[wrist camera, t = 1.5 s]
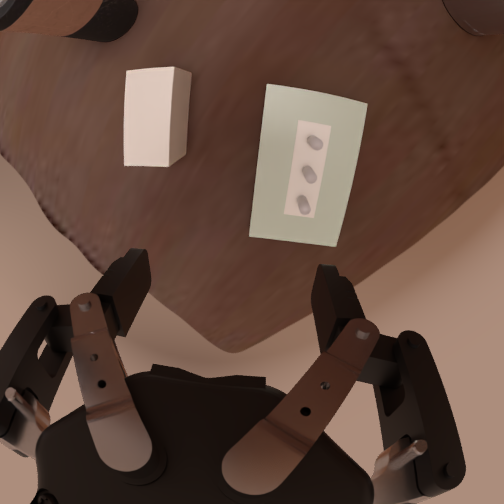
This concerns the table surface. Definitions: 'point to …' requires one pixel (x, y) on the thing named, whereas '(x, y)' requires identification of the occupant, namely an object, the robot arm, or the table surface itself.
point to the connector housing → (156, 116)
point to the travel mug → (69, 18)
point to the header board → (305, 165)
